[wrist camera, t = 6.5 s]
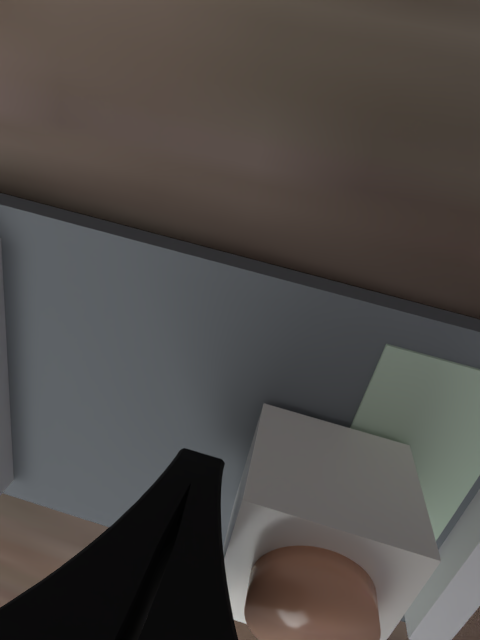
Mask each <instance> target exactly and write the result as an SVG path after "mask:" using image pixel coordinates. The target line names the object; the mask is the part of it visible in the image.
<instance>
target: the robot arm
mask: <svg viewBox="0 0 480 640" xmlns="http://www.w3.org/2000/svg"><path fill="white" fill-rule="evenodd" d="M224 465H225V463H224V461H223V460H222V459H220V458H216V457H213V456H210V455H206V454H203V453H200V452H196V451H193V450H190V449H186V448H183V449H181V450H180V451H179V452H178V454H177V455H176V457H175V458H174V459H173V461H172V462H171V463H170V465H169V466H168V467H167V468H166V470H165V471H164V472H163V473H162V474H161V475H160V477H159V478H158V479H157V480H156V481H155V482H154V483H153V485H152V486H151V487H150V488H149V489H148V490H147V491H146V492H145V493H144V494H143V495H142V496H141V497H140V498H139V500H138V501H137V502H136V503H135V504H134V505H133V506H131V507H130V508H129V509H128V510H127V511H126V512H125V513H124V514H123V515H122V516H121V517H120V518H119V519H118V520H117V521H116V522H115V523H114V524H113V525H111V526H110V527H109V528H108V529H107V530H106V531H105V532H104V533H102V534H101V535H100V536H99V537H98V538H97V539H95V540H94V541H93V542H92V543H90V544H89V545H88V546H87V547H86V548H84V549H83V550H82V551H81V552H79V553H78V554H77V555H75V556H74V557H73V558H72V559H70V560H69V561H68V562H66V563H65V564H64V565H62V566H61V567H60V568H58V569H57V570H56V571H54V572H53V573H51V574H50V575H49V576H47V577H46V578H44V579H43V580H42V581H40V582H39V583H37V584H36V585H34V586H33V587H31V588H30V589H28V590H27V591H25V592H24V593H22V594H20V595H19V596H17V597H16V598H14V599H13V600H11V601H10V602H8V603H7V604H5V605H4V606H2V607H1V608H0V640H238V637H237V633H236V629H235V624H234V619H233V614H232V609H231V603H230V597H229V591H228V585H227V578H226V571H225V563H224V553H223V543H222V527H221V485H222V476H223V469H224Z"/></svg>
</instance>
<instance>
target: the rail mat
mask: <svg viewBox="0 0 480 640" xmlns="http://www.w3.org/2000/svg"><path fill="white" fill-rule="evenodd" d="M263 403H265V404H268V405H272V406H275V407H279V408H282V409H285V410H289V411H292V412H296V413H299V414H303V415H306V416H310V417H313V418H317V419H320V420H324V421H327V422H330V423H334V424H337V425H341V426H344V427H348V428H351V429H355V430H358V431H362V432H365V433H368V434H372V435H375V436H379V437H382V438H386V439H389V440H393V441H396V442H400V443H403V444H406V445H410V448H411V452H412V455H413V459H414V463H415V467H416V470H417V474H418V478H419V481H420V485H421V489H422V492H423V496H424V500H425V503H426V507H427V511H428V514H429V518H430V522H431V525H432V529H433V533H434V536H435V540H436V544H437V548H438V551H439V555H440V559H441V562H440V564H439V565H438V567H437V568H436V570H435V571H434V572H433V574H432V575H431V577H430V578H429V580H428V581H427V582H426V584H425V585H424V587H423V588H422V590H421V591H420V593H419V594H418V595H417V597H416V598H415V600H414V601H413V603H412V604H411V606H410V607H409V608H408V610H407V611H406V613H405V614H404V616H403V617H402V618H401V620H400V621H403V622H406V628H407V634H408V639H410V640H452V639H453V638H454V636H455V635H456V634H457V633H458V632H459V630H460V629H461V628H462V627H463V625H464V624H465V623H466V622H467V621H468V619H469V618H470V617H471V616H472V615H473V613H474V612H475V611H476V610H477V609H478V607H479V606H480V319H476V318H472V317H469V316H465V315H461V314H457V313H453V312H450V311H446V310H442V309H438V308H434V307H431V306H427V305H423V304H419V303H416V302H412V301H408V300H404V299H400V298H397V297H393V296H389V295H385V294H381V293H378V292H374V291H370V290H366V289H363V288H359V287H355V286H351V285H347V284H344V283H340V282H336V281H332V280H328V279H325V278H321V277H317V276H313V275H310V274H306V273H302V272H298V271H294V270H291V269H287V268H283V267H279V266H275V265H272V264H268V263H264V262H260V261H257V260H253V259H249V258H245V257H241V256H238V255H234V254H230V253H226V252H222V251H219V250H215V249H211V248H207V247H203V246H200V245H196V244H192V243H188V242H185V241H181V240H177V239H173V238H169V237H166V236H162V235H158V234H154V233H150V232H147V231H143V230H139V229H135V228H132V227H128V226H124V225H120V224H116V223H113V222H109V221H105V220H101V219H97V218H94V217H90V216H86V215H82V214H79V213H75V212H71V211H67V210H63V209H60V208H56V207H52V206H48V205H44V204H41V203H37V202H33V201H29V200H26V199H22V198H18V197H14V196H10V195H7V194H3V193H0V495H1V494H2V493H4V494H7V495H10V496H13V497H16V498H19V499H23V500H26V501H29V502H32V503H35V504H38V505H41V506H44V507H48V508H51V509H54V510H57V511H60V512H63V513H66V514H69V515H73V516H76V517H79V518H82V519H85V520H88V521H91V522H94V523H97V524H101V525H104V526H107V527H110V526H111V525H113V524H114V523H115V522H116V521H117V520H118V519H119V518H120V517H121V516H122V515H123V514H124V513H125V512H126V511H127V510H128V509H129V508H130V507H131V506H133V505H134V504H135V503H136V502H137V501H138V500H139V498H140V497H141V496H142V495H143V494H144V493H145V492H146V491H147V490H148V489H149V488H150V487H151V486H152V485H153V483H154V482H155V481H156V480H157V479H158V478H159V477H160V475H161V474H162V473H163V472H164V471H165V470H166V468H167V467H168V466H169V465H170V463H171V462H172V461H173V459H174V458H175V457H176V455H177V454H178V452H179V451H180V450H181V449H183V448H186V449H190V450H193V451H196V452H200V453H203V454H206V455H210V456H213V457H216V458H220V459H222V460H223V461H224V463H225V465H224V469H223V476H222V485H221V527H222V543H223V547H224V542H225V538H226V534H227V530H228V526H229V522H230V517H231V513H232V509H233V505H234V501H235V498H236V494H237V491H238V488H239V484H240V481H241V477H242V474H243V471H244V467H245V464H246V461H247V457H248V454H249V451H250V447H251V444H252V440H253V437H254V434H255V430H256V427H257V424H258V420H259V417H260V414H261V410H262V407H263Z"/></svg>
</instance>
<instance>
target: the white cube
mask: <svg viewBox="0 0 480 640" xmlns="http://www.w3.org/2000/svg"><path fill="white" fill-rule="evenodd" d="M223 553H224V563H225V571H226V578H227V585H228V591H229V597H230V603H231V609H232V614H233V619H234V620H236V621H239V622H243V623H246V624H247V625H248V627H249V629H250V630H251V632H252V633H253V634H254V635H255V636H256V637H257V638H258V639H259V640H387V639H388V637H389V636H390V634H391V633H392V631H393V630H394V629H395V627H396V626H397V624H398V623H399V621H400V620H401V618H402V617H403V616H404V614H405V613H406V611H407V610H408V608H409V607H410V606H411V604H412V603H413V601H414V600H415V598H416V597H417V595H418V594H419V593H420V591H421V590H422V588H423V587H424V585H425V584H426V582H427V581H428V580H429V578H430V577H431V575H432V574H433V572H434V571H435V570H436V568H437V567H438V565H439V564H440V562H441V559H440V555H439V551H438V548H437V544H436V540H435V536H434V533H433V529H432V525H431V522H430V518H429V514H428V511H427V507H426V503H425V500H424V496H423V492H422V489H421V485H420V481H419V478H418V474H417V470H416V467H415V463H414V459H413V455H412V452H411V448H410V445H406V444H403V443H400V442H396V441H393V440H389V439H386V438H382V437H379V436H375V435H372V434H368V433H365V432H362V431H358V430H355V429H351V428H348V427H344V426H341V425H337V424H334V423H330V422H327V421H324V420H320V419H317V418H313V417H310V416H306V415H303V414H299V413H296V412H292V411H289V410H285V409H282V408H279V407H275V406H272V405H268V404H265V403H263V407H262V410H261V414H260V417H259V420H258V424H257V427H256V430H255V434H254V437H253V440H252V444H251V447H250V451H249V454H248V457H247V461H246V464H245V467H244V471H243V474H242V477H241V481H240V484H239V488H238V491H237V494H236V498H235V501H234V505H233V509H232V513H231V517H230V522H229V526H228V530H227V534H226V538H225V542H224V547H223Z"/></svg>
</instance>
